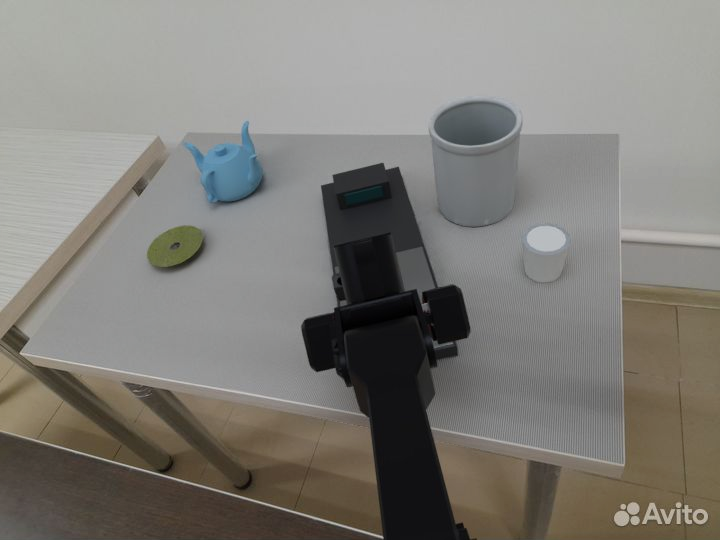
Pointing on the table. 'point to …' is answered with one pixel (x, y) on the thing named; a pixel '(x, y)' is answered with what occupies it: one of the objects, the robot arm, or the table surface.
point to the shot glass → (545, 251)
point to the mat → (174, 246)
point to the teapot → (229, 169)
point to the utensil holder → (476, 158)
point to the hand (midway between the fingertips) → (384, 319)
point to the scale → (380, 225)
